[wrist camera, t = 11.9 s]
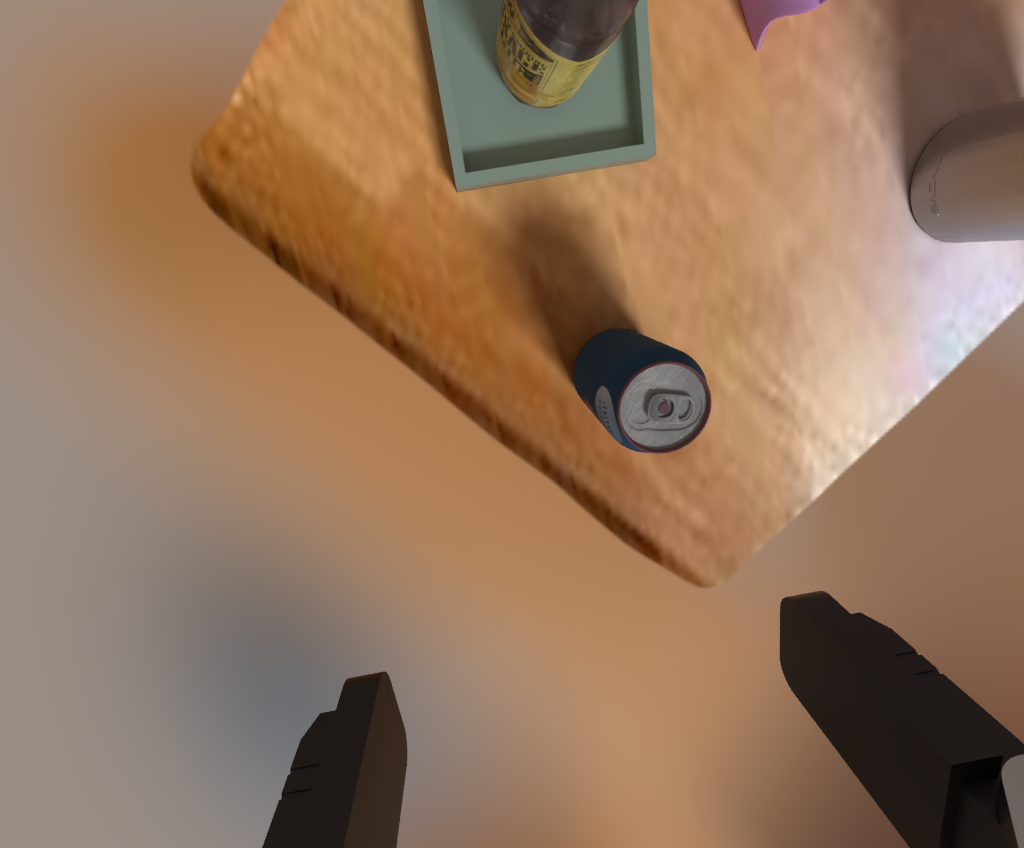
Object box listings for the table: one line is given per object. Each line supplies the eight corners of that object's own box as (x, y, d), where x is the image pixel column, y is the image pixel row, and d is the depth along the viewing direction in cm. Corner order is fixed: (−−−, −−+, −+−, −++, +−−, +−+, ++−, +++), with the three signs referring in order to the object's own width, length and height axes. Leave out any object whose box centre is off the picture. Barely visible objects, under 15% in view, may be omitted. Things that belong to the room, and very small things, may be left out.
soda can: (565, 406, 42) (600, 459, 31) (576, 322, 40) (618, 346, 29) (645, 412, 43) (708, 466, 31) (660, 330, 41) (733, 356, 29)
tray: (629, -78, 33) (640, -102, 30) (645, 161, 37) (656, 154, 35) (415, -45, 32) (411, -67, 30) (456, 191, 37) (456, 187, 34)
